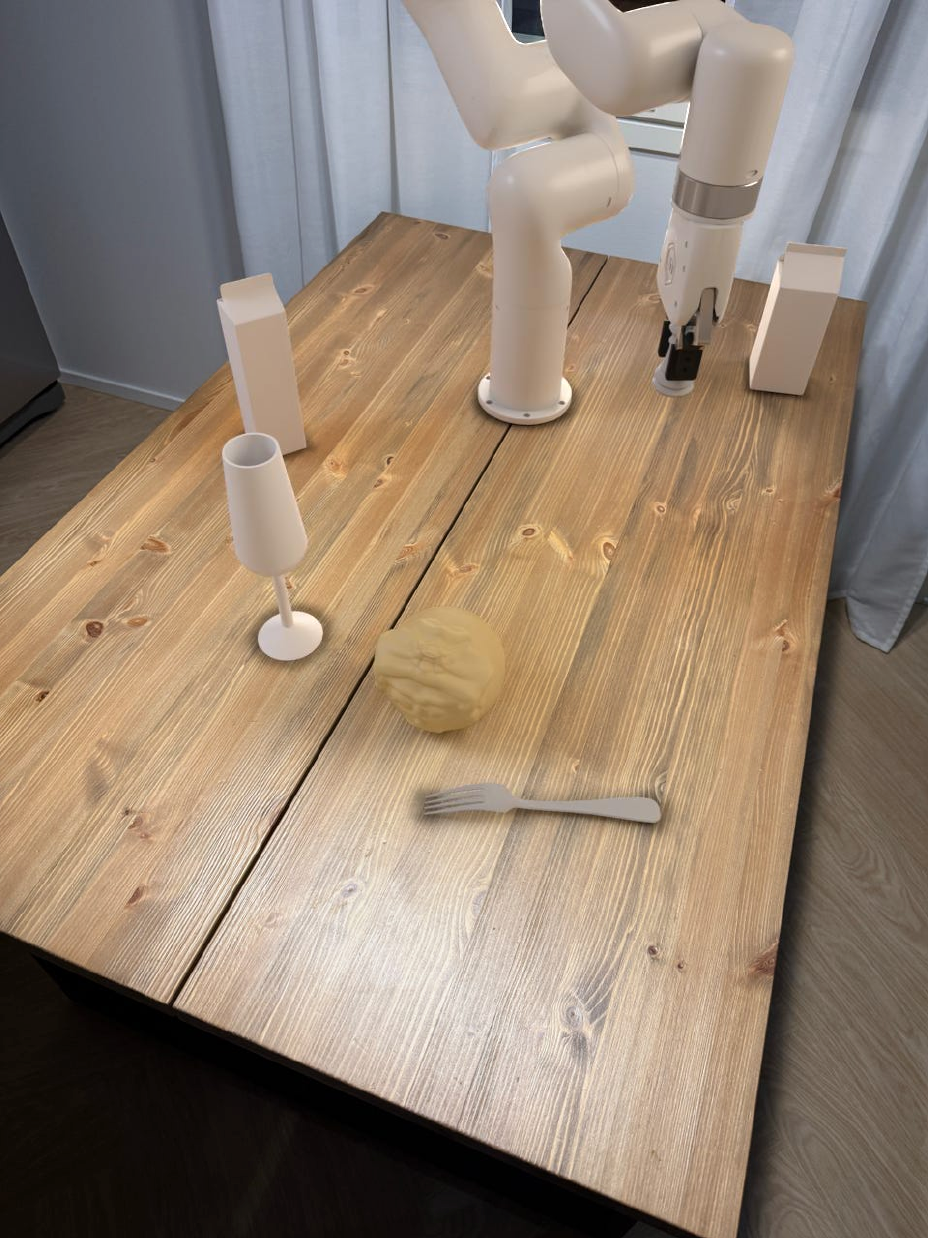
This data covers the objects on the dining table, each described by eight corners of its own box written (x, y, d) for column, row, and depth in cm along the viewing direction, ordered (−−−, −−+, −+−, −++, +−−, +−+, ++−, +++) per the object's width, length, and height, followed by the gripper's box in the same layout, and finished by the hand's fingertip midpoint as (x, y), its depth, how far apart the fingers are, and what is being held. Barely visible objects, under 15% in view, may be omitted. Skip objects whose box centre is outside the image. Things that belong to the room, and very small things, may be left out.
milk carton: (802, 396, 121) (849, 262, 106) (749, 390, 121) (788, 255, 107) (800, 367, 125) (845, 234, 111) (748, 361, 126) (786, 228, 112)
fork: (654, 839, 80) (663, 824, 78) (423, 820, 78) (426, 804, 76) (650, 811, 82) (659, 796, 80) (425, 791, 80) (428, 776, 78)
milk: (307, 448, 112) (283, 284, 96) (261, 462, 110) (229, 298, 94) (288, 422, 116) (262, 259, 99) (244, 435, 114) (210, 272, 97)
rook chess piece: (697, 381, 96) (714, 313, 90) (687, 403, 93) (704, 335, 87) (657, 371, 97) (671, 303, 91) (646, 393, 95) (659, 325, 88)
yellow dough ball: (363, 728, 85) (353, 657, 77) (415, 638, 92) (411, 565, 84) (475, 767, 82) (477, 699, 74) (519, 672, 89) (525, 599, 81)
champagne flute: (270, 669, 89) (223, 485, 71) (248, 624, 93) (199, 438, 75) (332, 646, 91) (303, 461, 73) (309, 603, 95) (275, 417, 77)
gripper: (658, 150, 85) (628, 324, 99) (692, 233, 74) (653, 415, 88) (736, 151, 85) (695, 324, 99) (781, 233, 74) (728, 415, 88)
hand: (676, 365), depth 93 cm, fingers closed on rook chess piece, 3 cm apart
